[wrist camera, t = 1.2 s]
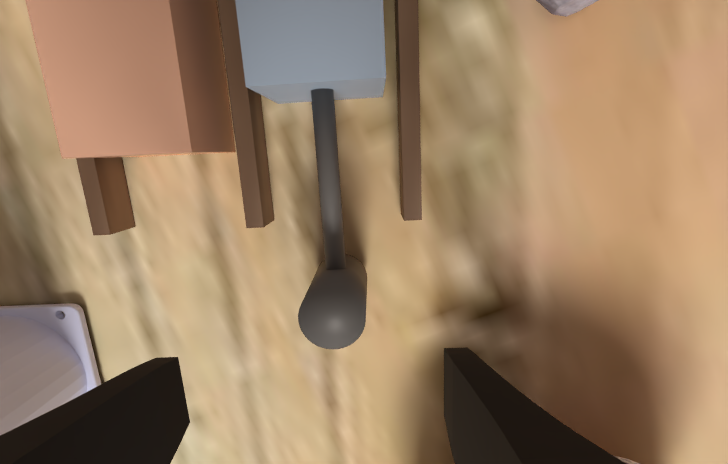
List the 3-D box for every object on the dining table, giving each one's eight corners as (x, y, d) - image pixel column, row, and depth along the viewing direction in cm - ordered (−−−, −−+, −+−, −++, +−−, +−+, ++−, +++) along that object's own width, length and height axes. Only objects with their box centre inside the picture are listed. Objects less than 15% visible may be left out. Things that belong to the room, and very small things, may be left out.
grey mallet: (298, 297, 19) (271, 351, 14) (260, -65, 15) (204, -175, 10) (390, 293, 19) (397, 346, 14) (375, -74, 15) (376, -191, 10)
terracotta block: (138, 156, 18) (61, 158, 13) (110, 1, 16) (12, -55, 12) (236, 152, 18) (191, 152, 13) (217, -6, 16) (159, -65, 12)
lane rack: (120, 227, 18) (86, 237, 16) (54, -88, 15) (3, -127, 13) (416, 213, 18) (423, 221, 16) (410, -116, 15) (416, -162, 13)
